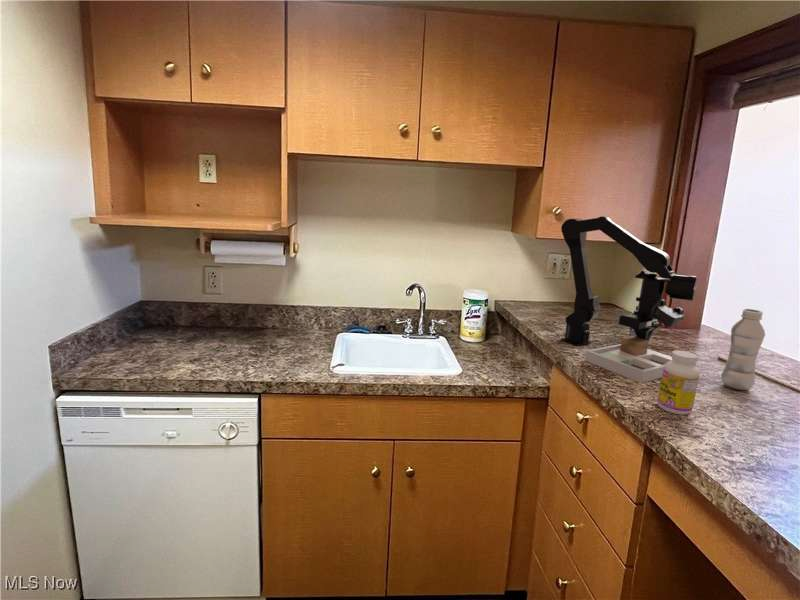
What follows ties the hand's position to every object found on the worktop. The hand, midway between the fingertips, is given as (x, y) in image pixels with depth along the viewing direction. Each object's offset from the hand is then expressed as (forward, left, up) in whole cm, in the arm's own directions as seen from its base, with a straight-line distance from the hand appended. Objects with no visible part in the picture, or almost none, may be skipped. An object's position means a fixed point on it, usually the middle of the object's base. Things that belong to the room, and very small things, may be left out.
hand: (642, 346), depth 131 cm
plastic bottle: (+24, +1, -3) cm, 25 cm away
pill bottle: (-12, +17, -3) cm, 21 cm away
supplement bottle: (+24, -26, -3) cm, 36 cm away
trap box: (+4, -8, -3) cm, 10 cm away
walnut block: (0, -4, -1) cm, 4 cm away
